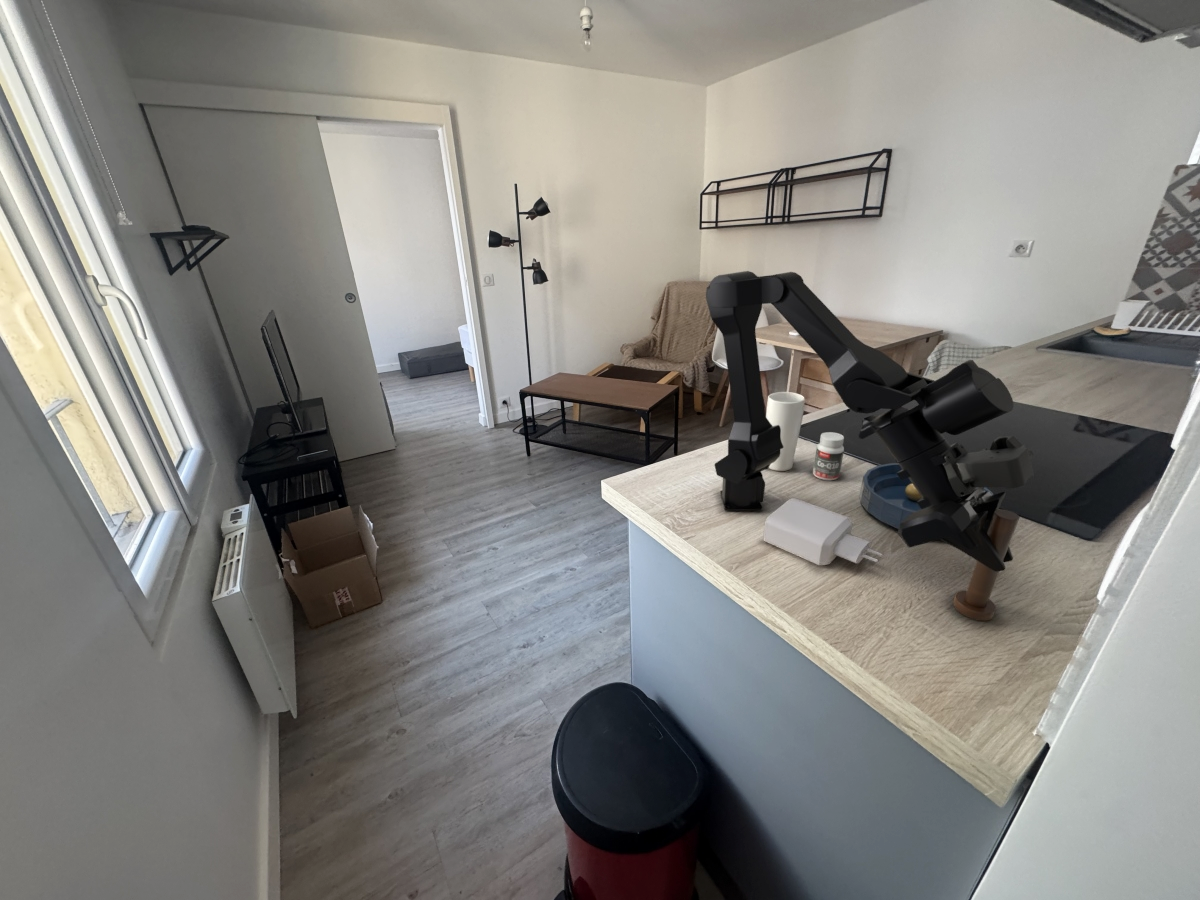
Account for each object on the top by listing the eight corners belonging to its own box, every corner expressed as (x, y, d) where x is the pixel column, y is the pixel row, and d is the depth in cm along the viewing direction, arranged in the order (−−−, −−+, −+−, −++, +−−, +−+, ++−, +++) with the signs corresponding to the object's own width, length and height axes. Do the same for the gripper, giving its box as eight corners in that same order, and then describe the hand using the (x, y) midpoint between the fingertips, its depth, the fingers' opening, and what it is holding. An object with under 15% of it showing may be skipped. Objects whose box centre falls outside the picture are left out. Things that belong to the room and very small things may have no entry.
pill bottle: (812, 479, 91) (818, 439, 87) (812, 468, 94) (818, 430, 91) (839, 482, 89) (846, 442, 85) (838, 471, 93) (845, 432, 89)
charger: (863, 589, 63) (762, 543, 73) (888, 557, 69) (791, 519, 79) (870, 560, 61) (765, 518, 71) (895, 530, 67) (794, 495, 77)
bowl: (887, 543, 72) (893, 518, 70) (843, 484, 88) (847, 463, 86) (1017, 544, 69) (1027, 518, 68) (947, 484, 86) (953, 462, 84)
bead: (908, 503, 79) (912, 488, 78) (900, 494, 82) (903, 479, 81) (927, 503, 79) (931, 488, 78) (918, 494, 82) (922, 479, 80)
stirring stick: (964, 620, 57) (999, 524, 51) (946, 597, 60) (976, 504, 55) (1000, 621, 56) (1039, 524, 51) (979, 597, 60) (1013, 504, 54)
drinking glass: (799, 474, 93) (808, 403, 86) (763, 473, 94) (769, 402, 88) (793, 459, 98) (801, 391, 92) (759, 458, 100) (765, 391, 94)
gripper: (957, 445, 46) (1066, 590, 43) (1018, 399, 56) (1110, 514, 53) (862, 486, 55) (945, 608, 52) (929, 440, 65) (1003, 540, 62)
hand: (1004, 565), depth 54 cm, fingers closed on stirring stick, 2 cm apart
